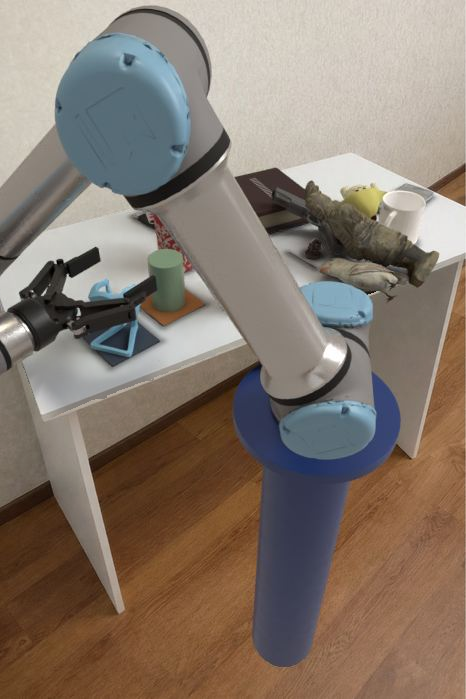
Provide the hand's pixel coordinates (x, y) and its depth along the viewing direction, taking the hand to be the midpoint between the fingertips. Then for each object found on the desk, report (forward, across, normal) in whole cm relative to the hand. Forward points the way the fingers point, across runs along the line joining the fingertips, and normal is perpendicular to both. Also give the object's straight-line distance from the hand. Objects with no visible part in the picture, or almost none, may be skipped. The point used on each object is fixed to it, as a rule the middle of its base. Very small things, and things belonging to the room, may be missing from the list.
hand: (125, 267), depth 99 cm
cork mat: (+10, -1, -14) cm, 17 cm away
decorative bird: (+36, +33, -11) cm, 50 cm away
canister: (+10, -1, -14) cm, 17 cm away
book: (+45, -10, -14) cm, 48 cm away
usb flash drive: (+31, -26, -12) cm, 42 cm away
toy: (+68, +6, -12) cm, 69 cm away
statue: (+48, +35, -12) cm, 61 cm away
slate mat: (-3, 0, -14) cm, 14 cm away
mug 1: (+22, -10, -14) cm, 28 cm away
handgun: (+40, +12, -9) cm, 43 cm away
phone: (+75, +16, -14) cm, 78 cm away
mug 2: (+58, +22, -14) cm, 64 cm away
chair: (-3, 0, -14) cm, 14 cm away
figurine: (+41, +12, -14) cm, 45 cm away
